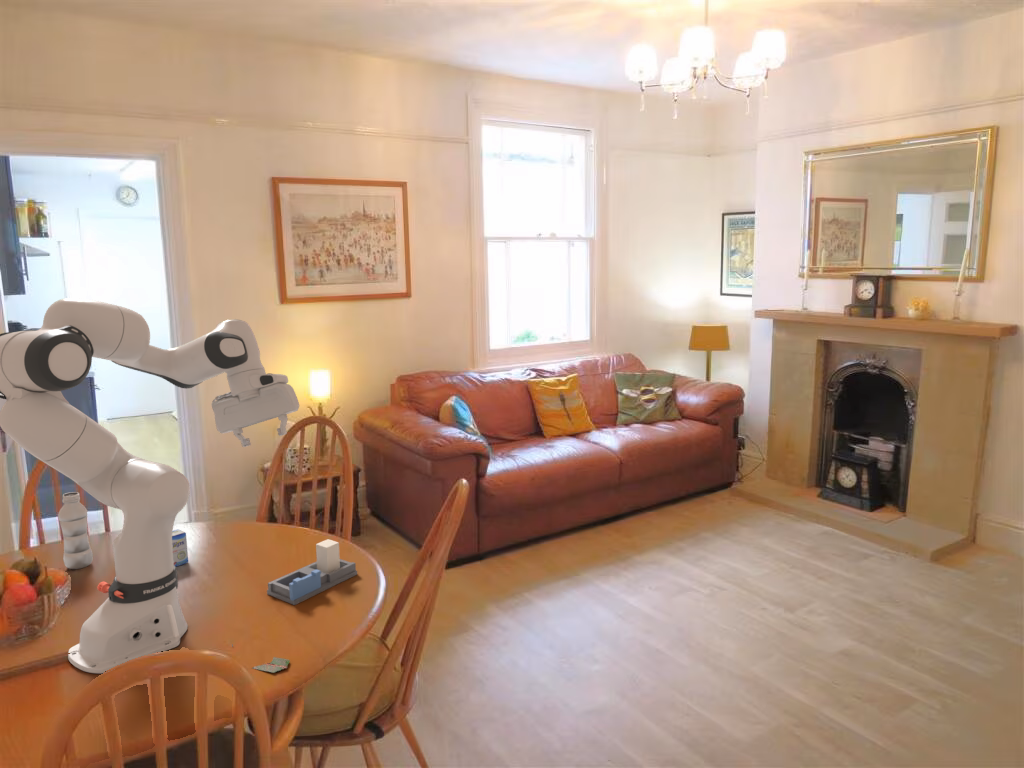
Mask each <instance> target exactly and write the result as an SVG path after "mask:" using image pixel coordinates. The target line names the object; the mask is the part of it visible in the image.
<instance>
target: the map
mask: <svg viewBox="0 0 1024 768" xmlns="http://www.w3.org/2000/svg"><path fill="white" fill-rule="evenodd" d="M231 647H234V644H231ZM290 662H291V661H290V659H287V658H282V657H276V656H273V658H272V660H271V661H270V662H267V663H263V664H261V665H256V666H253V667H252V669H255V670H258V671H263V672H269V673H276V672H279V671H281V670H284V669H287V668H288V665H289V664H290Z"/></svg>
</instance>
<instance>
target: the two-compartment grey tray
mask: <svg viewBox="0 0 1024 768" xmlns="http://www.w3.org/2000/svg"><path fill="white" fill-rule="evenodd" d="M356 566H357V565H356V562H353V561H352V562H351V561H348V560H345V559H341V558H340V568H339V569H337V570H335V571H332V572H330V573H328V574H326V573H323V572H321V571H320V570H317V560H316V561H315V562H311V563H310V564H308V565H306V566H303V567H301V568H298V569H296V570H294V571H292V572H290V573H287V574H285V575H282V576H281V577H278V578H276V579H274V580H272V581H269V582H267V589H266V594H267V595H268V596H271V597H273V598H275V599H278V600H280V601H283V602H286V603H288V604H291V605H292V606H296V605H298V604H299V603H302V602H305V601H306V600H308V599H310V598H312V597H314V596H316V595H318V594H321V593H322V592H324V591H326V590H329V589H331V588H332V587H334V586H337V585H338V584H341V583H342V582H345V581H347V580H349V579H350V578H351V579H352V578H353V577H355V576H357V575H358V570H357V567H356Z"/></svg>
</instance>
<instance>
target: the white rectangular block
mask: <svg viewBox="0 0 1024 768" xmlns="http://www.w3.org/2000/svg"><path fill="white" fill-rule="evenodd" d="M315 550H316V552H315V553H316V561H317V570H320V571H321V572H323V573H326V574H328V573H330V572H332V571H335V570H337V569H339V568H340V559H341V557H340V543H339V542H338V541H336V540H332V539H330V538H329V539H328V538H327V539H325V540H322V541H320V542H318V543H316V544H315Z"/></svg>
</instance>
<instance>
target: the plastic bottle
mask: <svg viewBox="0 0 1024 768" xmlns="http://www.w3.org/2000/svg"><path fill="white" fill-rule="evenodd" d="M80 501H81V497H80V492H76V491H72V492H66V493H63V494H62V503H63V505H62V506H61V508H60V509H59V511H58V513H57V514H58V516H57V517H58V520H59V521H58V522H59V525H60V528H61V532H62V538H63V550H64V551H63V554H62V555H63V559H62V560H63V564H64V566H65V567H66V568H67V569H68V570H69V569H70V570H79V569H82V568H83V569H84V568H86V567H88V566H90V565H91V564H92V562H93V560H94V558H93V556H94V554H93V551H92V548H91V545H90V540H89V537H88V509H87V508H86V507H85V505H83V504H82V503H81V502H80Z"/></svg>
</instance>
